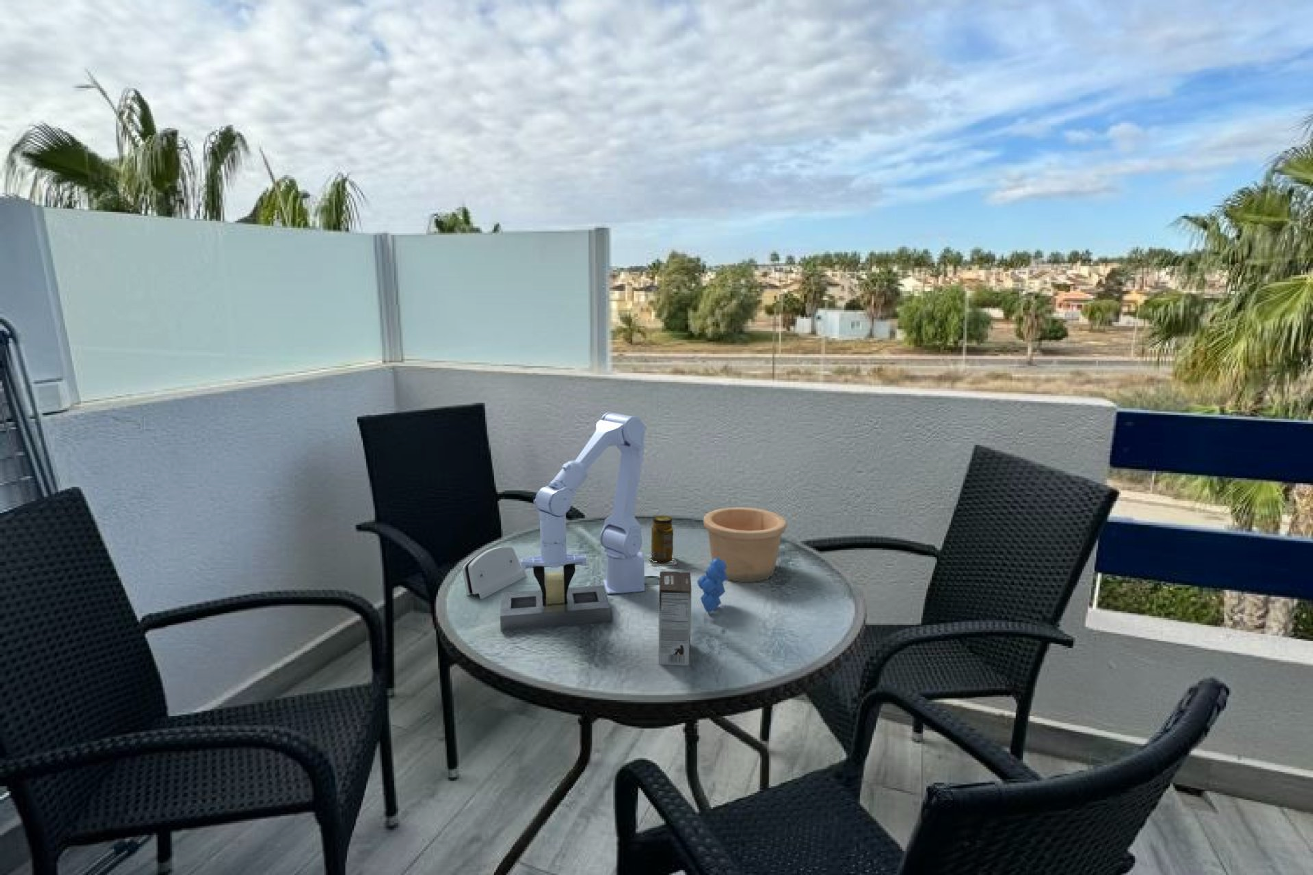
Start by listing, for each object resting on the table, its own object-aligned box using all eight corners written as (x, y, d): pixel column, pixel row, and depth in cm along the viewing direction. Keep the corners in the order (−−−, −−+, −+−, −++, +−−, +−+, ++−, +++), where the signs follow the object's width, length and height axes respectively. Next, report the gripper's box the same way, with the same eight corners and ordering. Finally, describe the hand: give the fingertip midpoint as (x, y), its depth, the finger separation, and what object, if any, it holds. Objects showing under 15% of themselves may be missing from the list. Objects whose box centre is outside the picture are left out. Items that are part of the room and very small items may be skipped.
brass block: (563, 603, 152) (562, 571, 150) (564, 611, 148) (563, 579, 146) (545, 605, 151) (545, 573, 150) (546, 613, 147) (545, 580, 146)
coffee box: (658, 642, 138) (659, 570, 135) (689, 642, 138) (690, 570, 135) (657, 665, 129) (658, 588, 126) (690, 666, 129) (691, 589, 126)
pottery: (767, 593, 162) (770, 538, 159) (688, 575, 173) (689, 523, 170) (795, 564, 181) (797, 515, 178) (722, 549, 191) (723, 502, 188)
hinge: (481, 599, 158) (469, 559, 157) (467, 601, 160) (456, 562, 160) (527, 575, 172) (516, 539, 172) (515, 577, 174) (504, 541, 174)
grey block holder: (604, 598, 158) (603, 585, 158) (610, 621, 147) (610, 607, 146) (502, 606, 154) (501, 592, 153) (500, 631, 142) (500, 616, 142)
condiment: (671, 553, 188) (671, 513, 186) (678, 564, 180) (679, 522, 178) (646, 555, 187) (646, 514, 184) (652, 566, 178) (652, 524, 176)
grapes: (705, 594, 161) (706, 548, 159) (731, 600, 158) (733, 553, 156) (686, 614, 151) (687, 565, 148) (714, 620, 148) (715, 570, 146)
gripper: (520, 548, 142) (522, 606, 144) (587, 543, 144) (588, 601, 147) (520, 536, 148) (522, 592, 151) (584, 533, 151) (585, 588, 154)
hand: (554, 596), depth 149 cm, fingers closed on brass block, 4 cm apart
